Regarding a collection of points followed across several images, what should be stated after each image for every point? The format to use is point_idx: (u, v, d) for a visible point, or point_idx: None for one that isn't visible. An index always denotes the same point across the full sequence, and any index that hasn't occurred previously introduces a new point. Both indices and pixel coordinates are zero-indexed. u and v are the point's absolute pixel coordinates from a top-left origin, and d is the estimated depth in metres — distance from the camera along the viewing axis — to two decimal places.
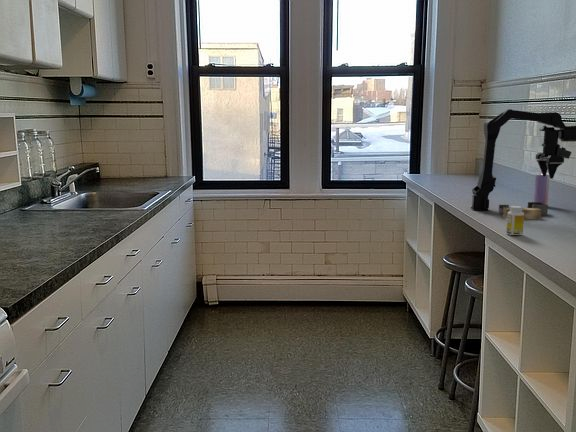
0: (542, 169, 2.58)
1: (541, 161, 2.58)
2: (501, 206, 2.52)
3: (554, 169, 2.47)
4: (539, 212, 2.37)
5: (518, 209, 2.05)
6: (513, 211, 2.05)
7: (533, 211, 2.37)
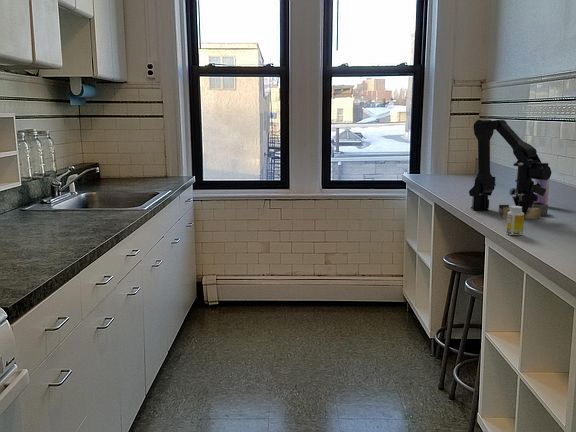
0: None
1: (516, 198, 2.41)
2: (501, 206, 2.52)
3: (526, 206, 2.35)
4: (539, 211, 2.38)
5: (518, 209, 2.05)
6: (513, 211, 2.05)
7: (533, 211, 2.38)
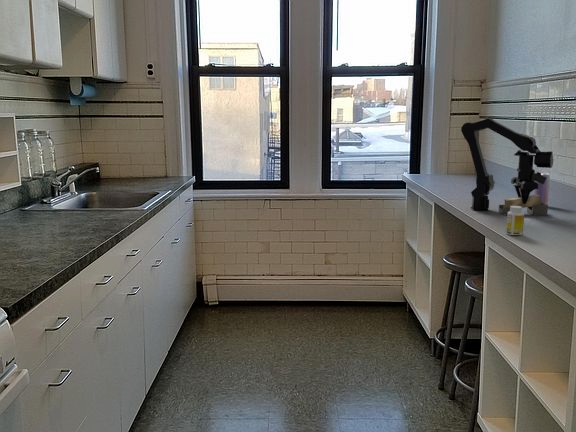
0: (519, 195, 2.50)
1: (518, 186, 2.50)
2: (501, 206, 2.52)
3: (527, 194, 2.44)
4: (539, 198, 2.45)
5: (518, 209, 2.05)
6: (513, 211, 2.05)
7: (533, 198, 2.46)
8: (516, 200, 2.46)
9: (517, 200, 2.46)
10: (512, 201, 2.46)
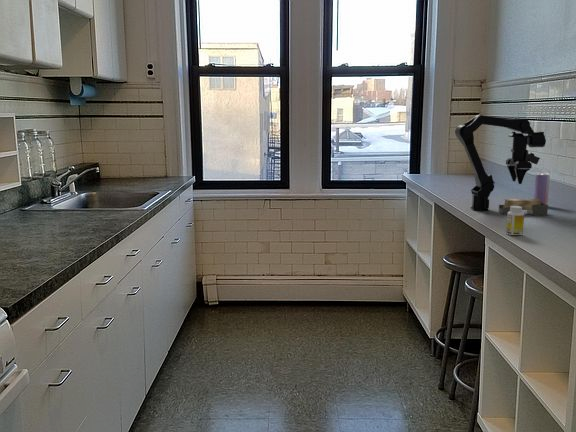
0: (512, 174, 2.61)
1: (511, 166, 2.61)
2: (501, 206, 2.52)
3: (522, 174, 2.51)
4: (539, 203, 2.46)
5: (518, 209, 2.05)
6: (513, 211, 2.05)
7: (534, 202, 2.46)
8: (516, 201, 2.46)
9: (517, 201, 2.46)
10: (512, 202, 2.46)
